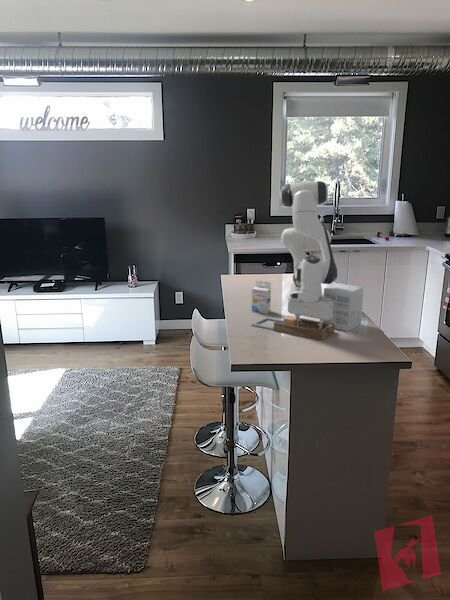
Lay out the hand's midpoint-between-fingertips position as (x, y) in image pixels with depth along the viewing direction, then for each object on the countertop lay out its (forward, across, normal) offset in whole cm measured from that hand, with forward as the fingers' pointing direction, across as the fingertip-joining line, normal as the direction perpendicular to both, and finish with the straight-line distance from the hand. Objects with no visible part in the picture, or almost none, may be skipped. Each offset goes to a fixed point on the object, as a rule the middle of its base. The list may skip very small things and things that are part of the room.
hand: (309, 326), depth 208 cm
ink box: (+3, +35, -16) cm, 39 cm away
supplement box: (+3, -7, -18) cm, 20 cm away
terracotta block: (+3, +9, 0) cm, 9 cm away
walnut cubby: (+3, +3, 0) cm, 4 cm away
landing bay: (+3, +20, 0) cm, 20 cm away
